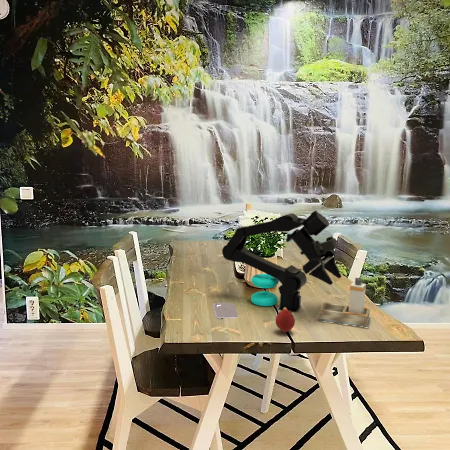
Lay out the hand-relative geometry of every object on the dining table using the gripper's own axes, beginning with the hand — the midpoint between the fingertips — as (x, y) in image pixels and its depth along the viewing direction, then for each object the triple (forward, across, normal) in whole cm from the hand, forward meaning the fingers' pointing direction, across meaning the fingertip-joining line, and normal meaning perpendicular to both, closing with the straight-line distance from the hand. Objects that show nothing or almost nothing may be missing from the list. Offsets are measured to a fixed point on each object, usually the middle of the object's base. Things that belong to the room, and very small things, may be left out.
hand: (336, 280), depth 152 cm
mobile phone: (-14, -15, +33) cm, 39 cm away
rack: (+12, 0, +6) cm, 13 cm away
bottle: (+14, 0, +3) cm, 14 cm away
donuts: (-9, 0, +28) cm, 29 cm away
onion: (+3, -21, +15) cm, 26 cm away
